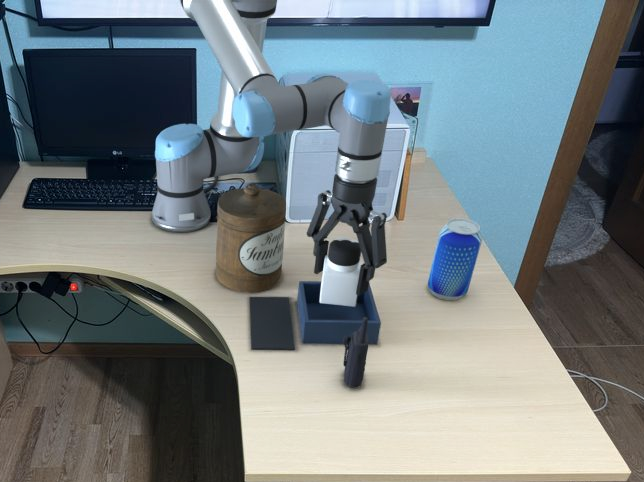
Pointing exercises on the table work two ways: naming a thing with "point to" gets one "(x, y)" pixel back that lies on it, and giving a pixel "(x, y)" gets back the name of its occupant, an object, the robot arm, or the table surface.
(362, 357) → the two-way radio
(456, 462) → the table surface
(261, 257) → the wooden container
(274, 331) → the mat
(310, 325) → the tote
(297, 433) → the table surface
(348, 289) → the medicine bottle
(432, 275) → the beer can
